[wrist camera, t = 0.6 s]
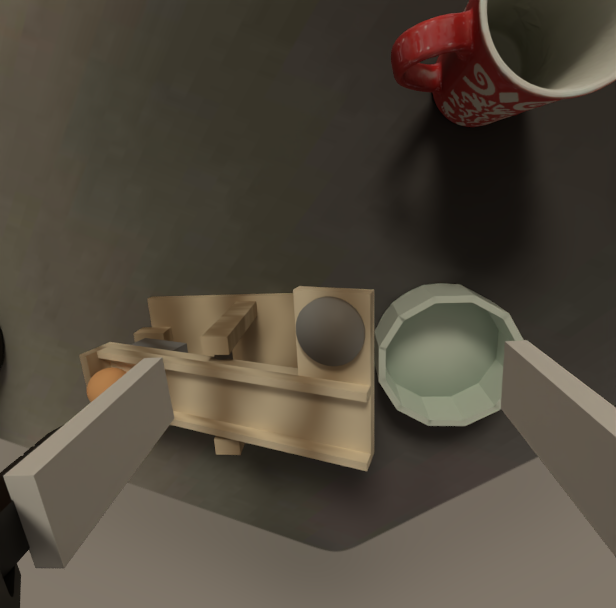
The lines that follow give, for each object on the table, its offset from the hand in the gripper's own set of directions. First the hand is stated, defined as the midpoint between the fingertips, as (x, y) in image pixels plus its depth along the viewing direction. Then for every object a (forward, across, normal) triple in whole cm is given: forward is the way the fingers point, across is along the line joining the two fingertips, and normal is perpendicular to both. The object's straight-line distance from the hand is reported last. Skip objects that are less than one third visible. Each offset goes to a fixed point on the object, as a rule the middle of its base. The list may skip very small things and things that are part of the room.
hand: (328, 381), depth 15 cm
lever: (+16, -8, -4) cm, 19 cm away
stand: (+23, -11, -7) cm, 26 cm away
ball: (+14, -19, -7) cm, 24 cm away
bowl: (+22, +10, -8) cm, 26 cm away
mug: (+23, +11, +15) cm, 29 cm away
